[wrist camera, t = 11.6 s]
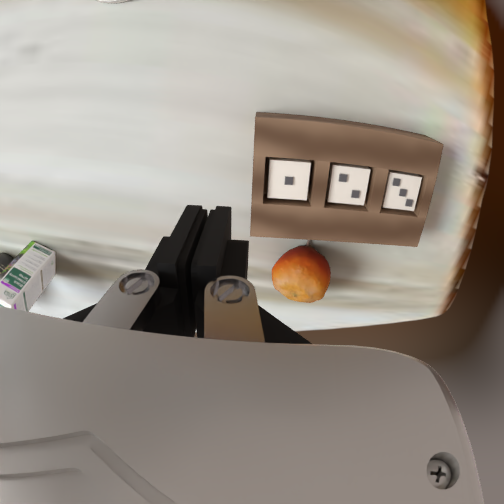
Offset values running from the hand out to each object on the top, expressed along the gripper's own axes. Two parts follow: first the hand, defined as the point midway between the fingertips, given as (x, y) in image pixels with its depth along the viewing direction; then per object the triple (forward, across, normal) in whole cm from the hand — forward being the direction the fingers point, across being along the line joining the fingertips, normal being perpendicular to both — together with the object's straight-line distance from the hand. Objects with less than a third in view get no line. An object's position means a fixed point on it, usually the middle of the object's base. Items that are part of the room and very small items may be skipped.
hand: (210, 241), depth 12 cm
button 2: (+25, -12, +5) cm, 28 cm away
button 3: (+25, -19, +5) cm, 32 cm away
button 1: (+25, -5, +5) cm, 26 cm away
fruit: (+27, -8, +18) cm, 34 cm away
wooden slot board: (+27, -12, +5) cm, 30 cm away
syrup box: (+27, +36, +21) cm, 50 cm away
